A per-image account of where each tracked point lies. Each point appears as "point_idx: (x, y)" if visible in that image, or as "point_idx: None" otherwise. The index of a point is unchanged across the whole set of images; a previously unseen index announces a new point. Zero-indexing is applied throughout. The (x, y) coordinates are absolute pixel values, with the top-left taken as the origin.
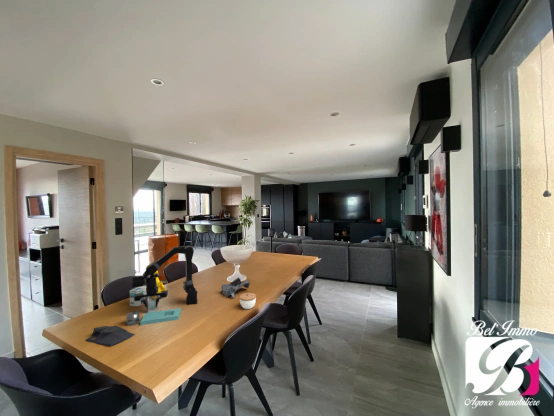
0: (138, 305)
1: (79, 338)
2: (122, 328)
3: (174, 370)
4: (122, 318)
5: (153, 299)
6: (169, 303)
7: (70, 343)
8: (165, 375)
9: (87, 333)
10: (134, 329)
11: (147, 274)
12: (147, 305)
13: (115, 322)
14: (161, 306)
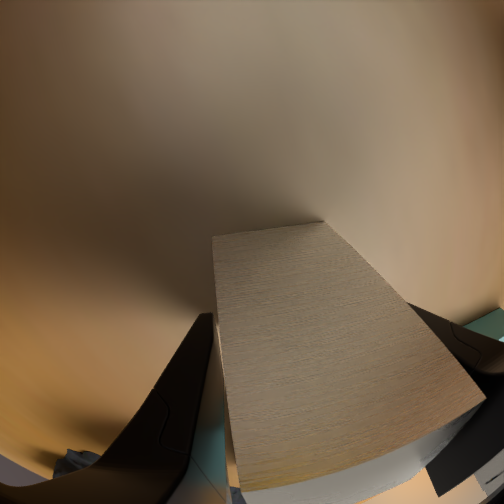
0: None
1: (20, 459)
2: None
3: (378, 494)
4: (5, 363)
5: (400, 475)
6: (449, 36)
7: (28, 469)
8: (364, 501)
9: (6, 442)
10: (232, 477)
11: None
12: (220, 409)
13: (19, 404)
14: (375, 92)
